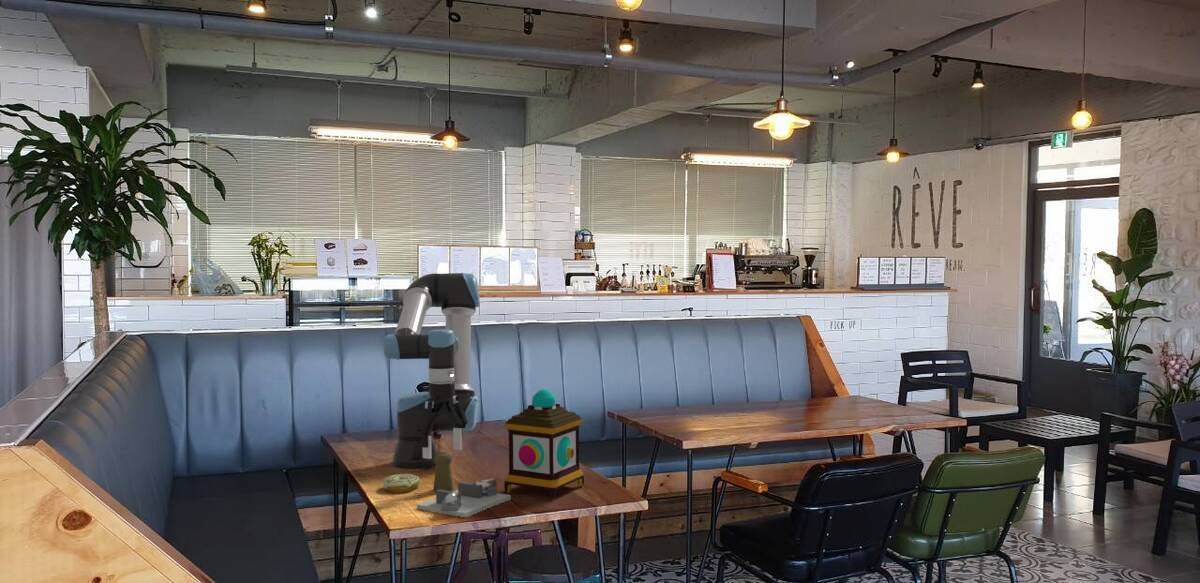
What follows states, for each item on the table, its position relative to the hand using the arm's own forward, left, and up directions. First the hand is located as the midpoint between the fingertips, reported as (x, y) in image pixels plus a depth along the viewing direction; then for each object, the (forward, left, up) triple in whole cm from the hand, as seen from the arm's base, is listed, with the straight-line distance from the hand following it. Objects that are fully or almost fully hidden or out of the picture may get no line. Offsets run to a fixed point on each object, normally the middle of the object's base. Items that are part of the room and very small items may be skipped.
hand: (442, 454), depth 261 cm
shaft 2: (+17, -1, -10) cm, 19 cm away
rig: (+15, -8, -11) cm, 20 cm away
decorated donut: (-12, -5, -11) cm, 17 cm away
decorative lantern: (+26, +15, -11) cm, 32 cm away
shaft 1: (+17, -16, -10) cm, 26 cm away
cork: (0, 0, -11) cm, 11 cm away
